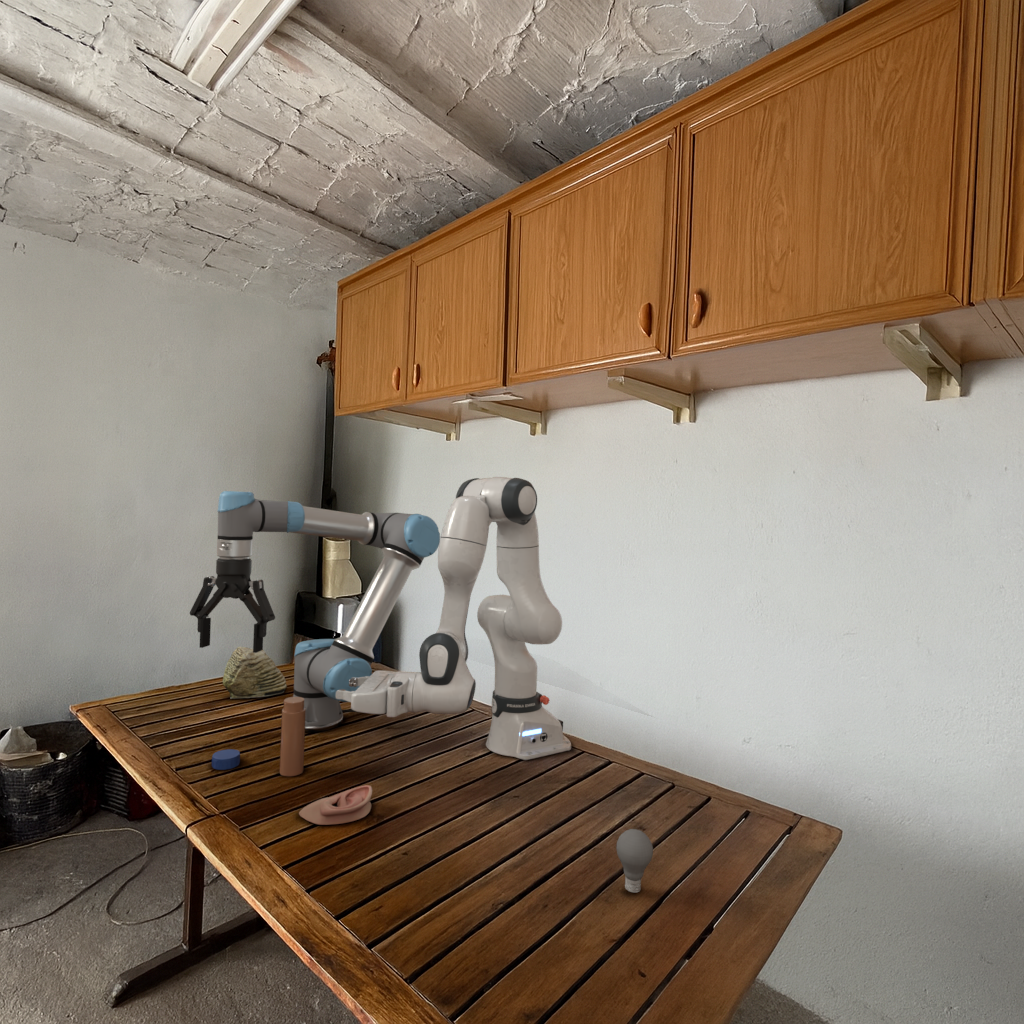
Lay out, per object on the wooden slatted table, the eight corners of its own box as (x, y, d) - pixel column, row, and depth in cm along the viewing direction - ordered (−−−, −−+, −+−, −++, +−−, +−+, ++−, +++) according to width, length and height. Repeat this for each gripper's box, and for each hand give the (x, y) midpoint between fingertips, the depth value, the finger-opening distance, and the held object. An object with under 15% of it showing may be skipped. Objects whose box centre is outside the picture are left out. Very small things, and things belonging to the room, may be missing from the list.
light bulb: (610, 879, 108) (613, 822, 108) (644, 879, 109) (647, 822, 109) (619, 902, 102) (622, 840, 102) (655, 901, 103) (658, 840, 103)
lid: (244, 764, 148) (245, 754, 148) (219, 772, 143) (220, 761, 143) (231, 757, 152) (232, 747, 151) (206, 764, 147) (207, 754, 147)
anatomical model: (291, 800, 123) (320, 775, 134) (290, 820, 123) (320, 794, 134) (354, 810, 120) (379, 784, 132) (353, 830, 121) (378, 803, 132)
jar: (275, 771, 145) (277, 699, 145) (295, 764, 149) (298, 694, 149) (286, 778, 142) (289, 704, 141) (307, 771, 145) (310, 700, 145)
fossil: (218, 695, 195) (220, 647, 195) (278, 685, 208) (279, 640, 207) (228, 703, 189) (230, 653, 188) (289, 692, 201) (290, 645, 201)
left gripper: (175, 555, 145) (171, 647, 146) (275, 562, 141) (271, 657, 141) (196, 553, 153) (193, 641, 153) (292, 559, 148) (289, 649, 149)
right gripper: (413, 665, 154) (357, 662, 155) (393, 690, 133) (328, 686, 134) (412, 691, 154) (356, 688, 155) (392, 720, 134) (327, 716, 134)
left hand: (231, 649), depth 147 cm, fingers open, 13 cm apart
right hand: (343, 687), depth 144 cm, fingers open, 8 cm apart
